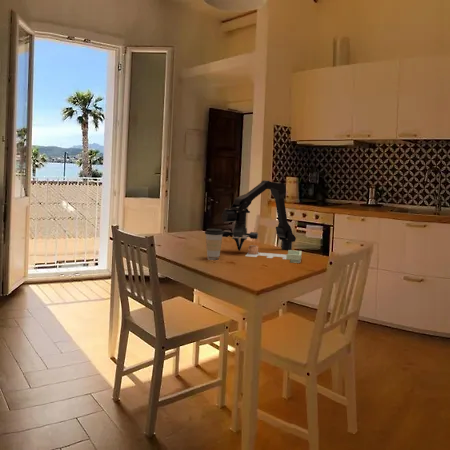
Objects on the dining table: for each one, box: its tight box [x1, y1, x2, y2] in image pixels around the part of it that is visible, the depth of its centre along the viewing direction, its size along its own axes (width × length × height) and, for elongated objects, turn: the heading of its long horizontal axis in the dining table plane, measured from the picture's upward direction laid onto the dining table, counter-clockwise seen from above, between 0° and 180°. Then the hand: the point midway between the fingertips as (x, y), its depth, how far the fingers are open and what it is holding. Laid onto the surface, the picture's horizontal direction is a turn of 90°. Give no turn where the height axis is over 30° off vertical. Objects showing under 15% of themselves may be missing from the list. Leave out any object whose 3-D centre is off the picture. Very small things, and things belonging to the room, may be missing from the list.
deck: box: [245, 249, 303, 264], centre depth 240 cm, size 13×28×4 cm, turn 79°
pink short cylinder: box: [248, 244, 259, 254], centre depth 244 cm, size 5×5×4 cm
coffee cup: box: [204, 228, 224, 261], centre depth 232 cm, size 9×9×15 cm
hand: (239, 250), depth 246 cm, fingers closed
